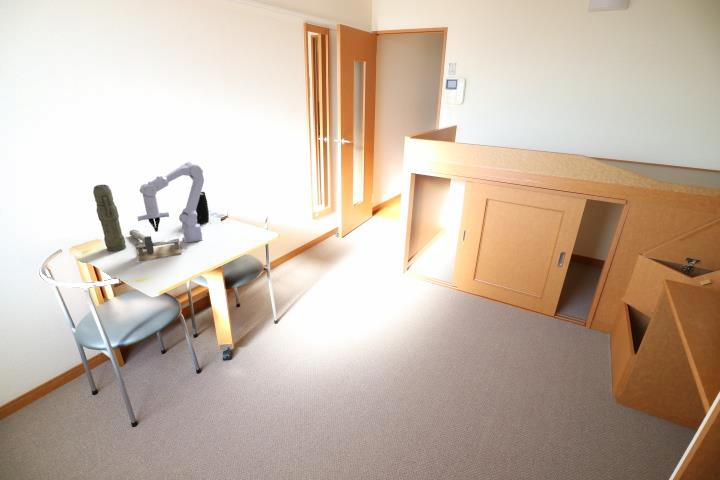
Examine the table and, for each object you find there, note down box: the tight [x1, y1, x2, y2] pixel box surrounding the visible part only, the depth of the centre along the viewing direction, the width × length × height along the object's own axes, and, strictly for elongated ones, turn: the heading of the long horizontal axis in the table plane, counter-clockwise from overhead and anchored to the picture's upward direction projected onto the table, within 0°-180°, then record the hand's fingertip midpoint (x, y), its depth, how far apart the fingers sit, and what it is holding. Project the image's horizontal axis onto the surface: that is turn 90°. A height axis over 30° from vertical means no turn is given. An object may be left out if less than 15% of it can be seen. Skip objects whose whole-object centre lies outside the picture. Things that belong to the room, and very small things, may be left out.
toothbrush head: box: [129, 229, 154, 245], centre depth 206 cm, size 5×7×25 cm
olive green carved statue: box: [93, 184, 127, 253], centre depth 190 cm, size 9×12×35 cm
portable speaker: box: [196, 191, 210, 224], centre depth 234 cm, size 9×9×20 cm
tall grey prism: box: [144, 235, 154, 254], centre depth 190 cm, size 3×7×7 cm, turn 30°
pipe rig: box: [135, 238, 183, 262], centre depth 193 cm, size 20×12×7 cm, turn 120°
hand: (156, 231), depth 195 cm, fingers closed
